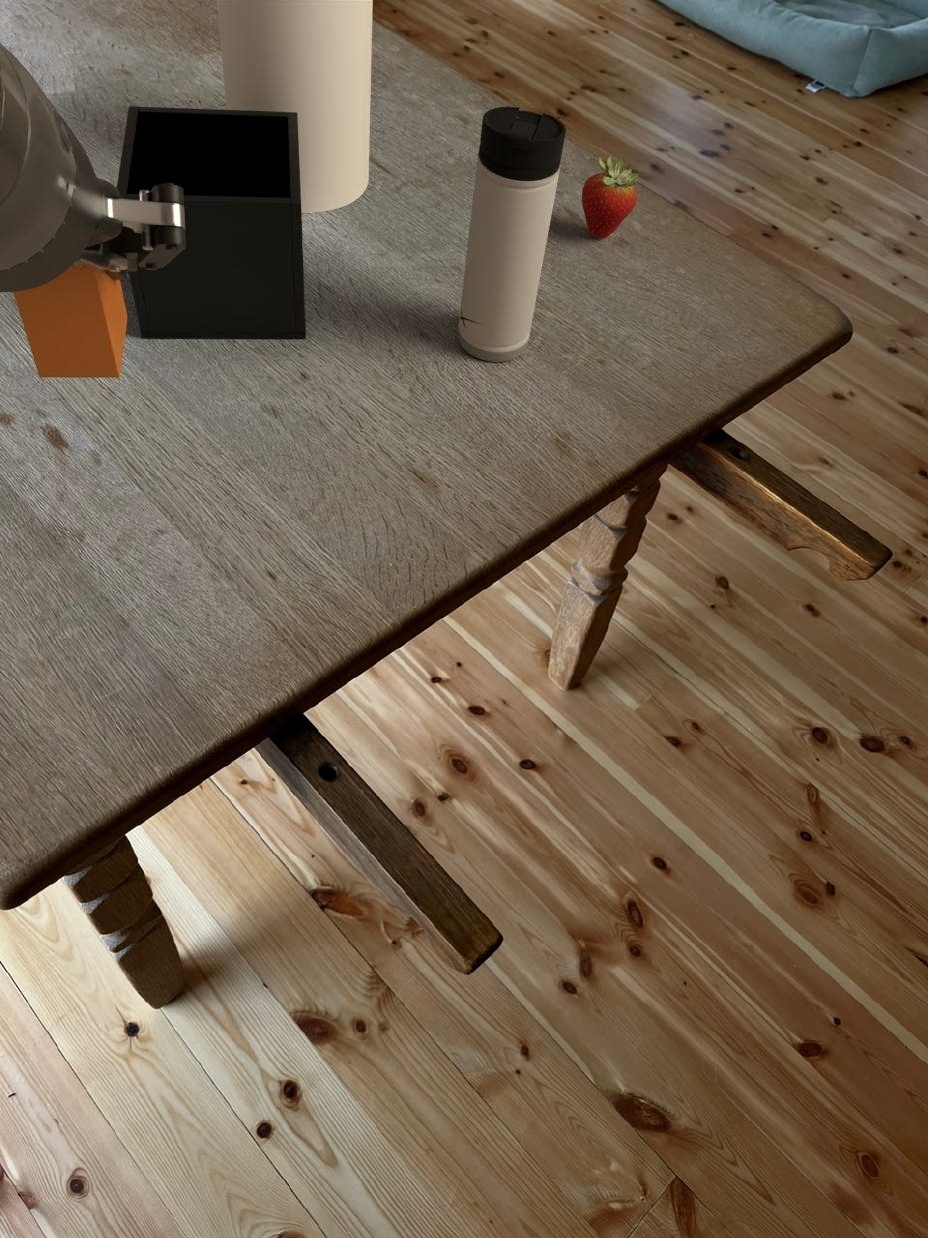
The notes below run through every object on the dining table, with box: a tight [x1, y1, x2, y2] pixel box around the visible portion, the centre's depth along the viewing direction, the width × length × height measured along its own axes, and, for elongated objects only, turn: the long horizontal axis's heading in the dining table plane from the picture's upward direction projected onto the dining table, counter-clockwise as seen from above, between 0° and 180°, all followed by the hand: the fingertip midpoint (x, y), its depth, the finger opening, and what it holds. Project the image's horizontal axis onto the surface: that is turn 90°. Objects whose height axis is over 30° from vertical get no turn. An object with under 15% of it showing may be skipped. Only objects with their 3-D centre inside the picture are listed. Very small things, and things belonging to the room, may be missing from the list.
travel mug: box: [457, 105, 567, 363], centre depth 81 cm, size 6×7×20 cm
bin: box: [116, 105, 307, 340], centre depth 84 cm, size 14×14×13 cm
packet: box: [12, 267, 128, 379], centre depth 50 cm, size 4×5×8 cm
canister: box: [216, 0, 374, 214], centre depth 93 cm, size 14×14×20 cm
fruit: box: [581, 155, 640, 240], centre depth 97 cm, size 5×5×8 cm
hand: (73, 257), depth 52 cm, fingers closed on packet, 4 cm apart
